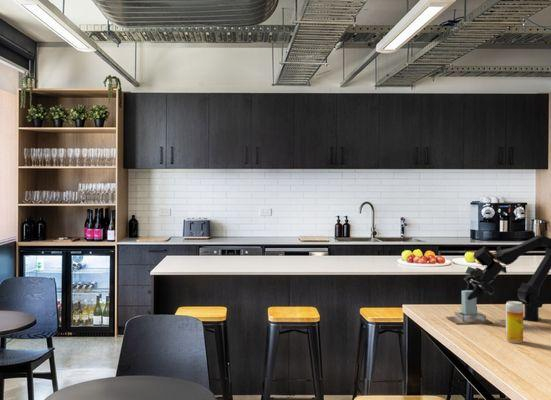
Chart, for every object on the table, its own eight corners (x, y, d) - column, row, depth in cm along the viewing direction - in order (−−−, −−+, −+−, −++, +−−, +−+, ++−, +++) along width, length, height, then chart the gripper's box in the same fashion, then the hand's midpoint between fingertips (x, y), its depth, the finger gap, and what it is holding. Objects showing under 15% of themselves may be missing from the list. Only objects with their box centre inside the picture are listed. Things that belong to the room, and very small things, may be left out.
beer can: (525, 344, 198) (525, 304, 197) (507, 343, 199) (507, 303, 199) (520, 339, 203) (520, 301, 203) (504, 338, 205) (504, 300, 205)
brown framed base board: (479, 317, 241) (479, 310, 241) (492, 323, 229) (492, 316, 229) (445, 318, 239) (445, 311, 239) (457, 324, 227) (457, 317, 227)
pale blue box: (474, 312, 236) (474, 290, 236) (479, 314, 232) (479, 291, 232) (461, 312, 236) (461, 290, 236) (465, 314, 232) (465, 292, 232)
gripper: (468, 258, 243) (445, 282, 243) (487, 263, 225) (462, 289, 224) (484, 274, 244) (461, 299, 243) (505, 281, 225) (480, 307, 225)
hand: (465, 298), depth 234 cm, fingers closed on pale blue box, 4 cm apart
